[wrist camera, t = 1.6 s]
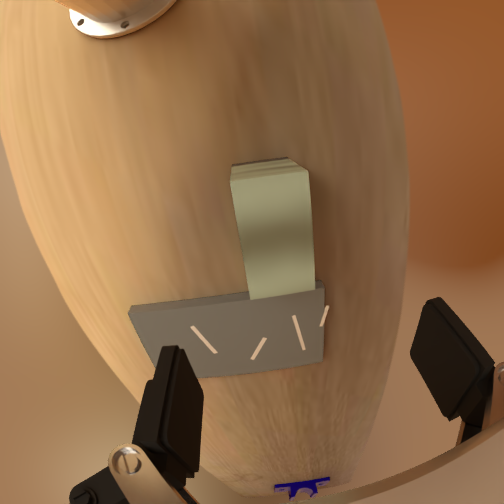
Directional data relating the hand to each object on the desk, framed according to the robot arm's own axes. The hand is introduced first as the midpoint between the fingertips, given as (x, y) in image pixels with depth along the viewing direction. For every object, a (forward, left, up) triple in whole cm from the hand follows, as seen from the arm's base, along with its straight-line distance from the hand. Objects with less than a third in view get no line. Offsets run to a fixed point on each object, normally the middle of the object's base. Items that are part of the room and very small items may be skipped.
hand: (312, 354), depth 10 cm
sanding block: (0, 0, -18) cm, 18 cm away
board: (+15, -6, -18) cm, 24 cm away
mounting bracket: (+92, +2, -19) cm, 94 cm away
